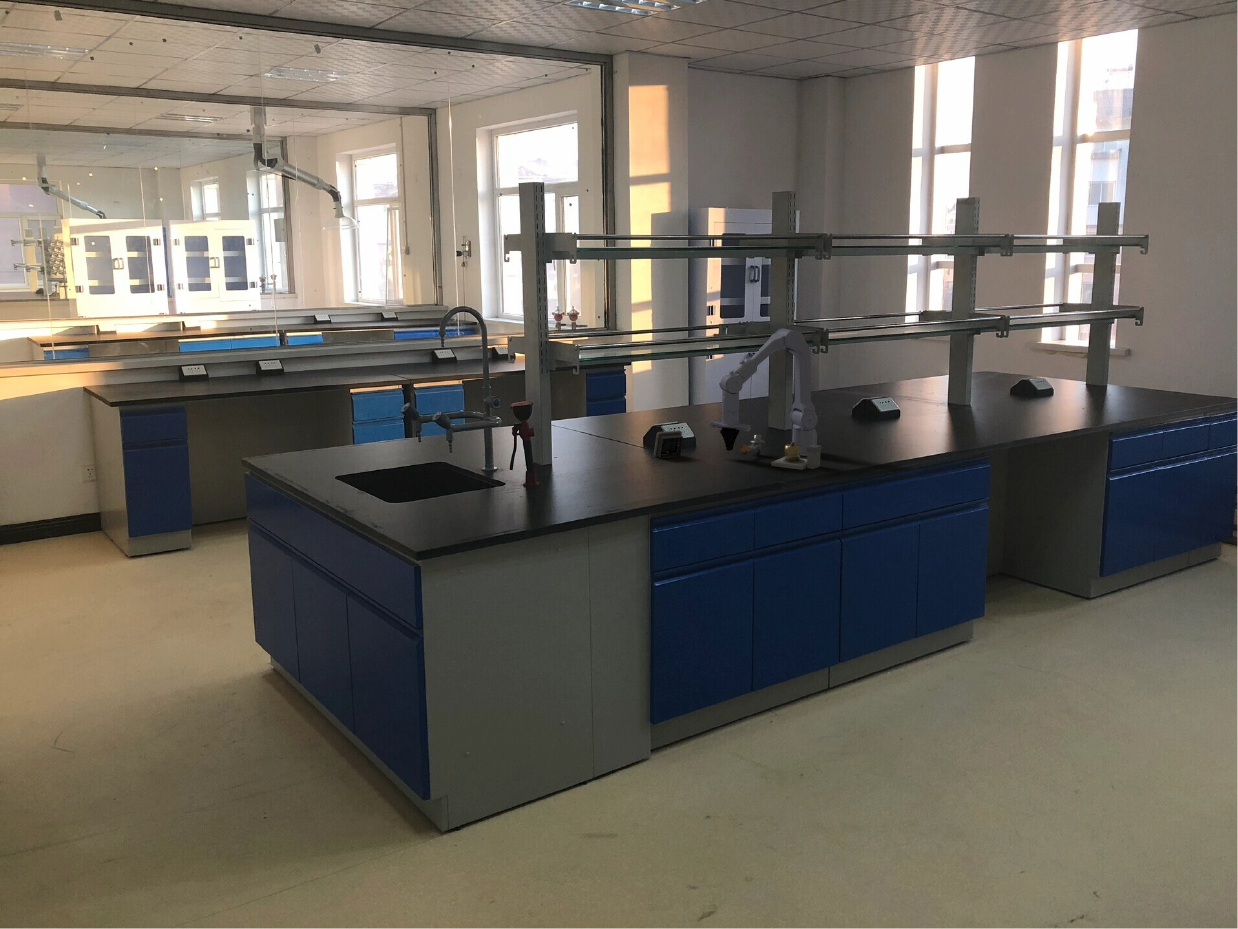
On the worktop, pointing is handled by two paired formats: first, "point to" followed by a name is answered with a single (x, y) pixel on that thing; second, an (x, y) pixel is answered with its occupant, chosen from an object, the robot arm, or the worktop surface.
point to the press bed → (802, 460)
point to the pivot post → (758, 442)
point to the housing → (792, 452)
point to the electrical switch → (668, 444)
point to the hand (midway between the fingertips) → (729, 450)
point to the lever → (746, 449)
